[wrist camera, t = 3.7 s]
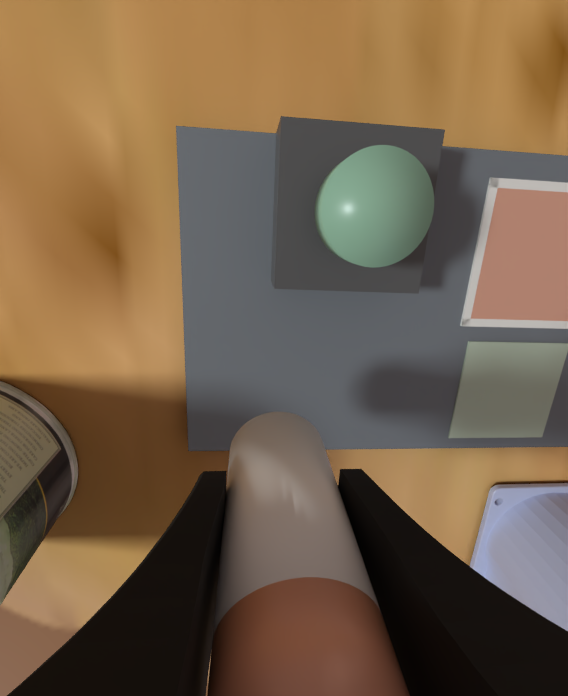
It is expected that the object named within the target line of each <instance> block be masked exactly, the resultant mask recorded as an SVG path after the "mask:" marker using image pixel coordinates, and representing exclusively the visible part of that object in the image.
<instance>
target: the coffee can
mask: <svg viewBox="0 0 568 696" xmlns="http://www.w3.org/2000/svg"><path fill="white" fill-rule="evenodd" d="M77 480H78V462H77V457H76V452H75V449H74V446H73V444H72V441H71V439H70V437H69V435H68V433H67V431H66V430H65V428H64V427H63V426H62V425H61V423H60V422H59V421H58V419H57V418H56V417H55V416H54V415H53V414H52V413H51V412H50V411H49V410H48V409H47V408H46V407H45V406H43V405H42V404H41V403H39V402H38V401H37V400H36V399H34V398H33V397H31V396H30V395H28V394H26V393H25V392H23V391H21V390H19V389H17V388H15V387H13V386H12V385H10V384H7V383H4V382H2V381H0V605H1V603H2V602H3V600H4V599H5V597H6V595H7V594H8V592H9V591H10V589H11V588H12V586H13V585H14V583H15V582H16V580H17V579H18V577H19V576H20V574H21V573H22V571H23V570H24V568H25V567H26V565H27V564H28V562H29V560H30V559H31V557H32V556H33V554H34V553H35V551H36V550H37V548H38V547H39V545H40V544H41V542H42V541H43V539H44V538H45V536H46V535H47V533H48V532H49V530H50V529H51V527H52V526H53V524H54V523H55V521H56V519H57V518H58V517H59V516H60V515H61V514H62V512H63V511H64V510H65V509H66V507H67V506H68V504H69V503H70V501H71V499H72V497H73V495H74V492H75V489H76V485H77Z"/></svg>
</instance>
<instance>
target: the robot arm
mask: <svg viewBox="0 0 568 696" xmlns="http://www.w3.org/2000/svg"><path fill="white" fill-rule="evenodd" d="M338 488H339V491H340V494H341V497H342V500H343V503H344V506H345V509H346V512H347V515H348V517H349V520H350V523H351V526H352V529H353V532H354V535H355V538H356V541H357V544H358V547H359V549H360V552H361V555H362V558H363V561H364V564H365V567H366V570H367V573H368V576H369V579H370V581H371V584H372V587H373V590H374V593H375V596H376V599H377V602H378V605H379V608H380V611H381V613H382V616H383V619H384V622H385V625H386V628H387V631H388V634H389V637H390V640H391V643H392V645H393V648H394V651H395V654H396V657H397V660H398V663H399V666H400V669H401V672H402V675H403V677H404V680H405V683H406V686H407V689H408V692H409V695H410V696H568V483H546V484H502V485H495V486H493V487H492V488H491V489H490V491H489V495H488V498H487V502H486V506H485V510H484V514H483V517H482V521H481V525H480V529H479V533H478V537H477V540H476V544H475V548H474V552H473V556H472V559H471V563H470V566H468V565H467V564H466V563H464V562H463V561H462V560H460V559H459V558H458V557H456V556H455V555H454V554H453V553H451V552H450V551H449V550H448V549H446V548H445V547H444V546H443V545H442V544H440V543H439V542H438V541H437V540H436V539H435V538H433V537H432V536H431V535H430V534H429V533H427V532H426V531H425V530H424V529H423V528H422V527H421V526H420V525H418V524H417V523H416V522H415V521H414V520H413V519H412V518H411V517H410V516H409V515H407V514H406V513H405V512H404V511H403V510H402V509H401V508H400V507H399V506H398V505H397V504H396V503H395V502H394V501H393V500H392V499H391V498H390V497H389V496H388V495H387V494H386V493H385V492H384V491H383V490H382V489H381V488H380V487H379V486H378V485H377V484H376V483H375V482H374V481H373V480H372V479H371V478H370V477H369V476H368V475H367V474H366V473H365V472H364V471H363V470H362V469H340V476H339V485H338ZM225 502H226V471H204V472H203V473H202V474H201V475H200V476H199V478H198V480H197V482H196V484H195V486H194V488H193V490H192V491H191V493H190V495H189V496H188V498H187V500H186V501H185V503H184V505H183V506H182V508H181V509H180V511H179V512H178V514H177V515H176V517H175V518H174V520H173V521H172V523H171V524H170V526H169V527H168V528H167V530H166V531H165V533H164V534H163V535H162V537H161V538H160V539H159V541H158V542H157V543H156V544H155V546H154V547H153V548H152V550H151V551H150V552H149V554H148V555H147V556H146V558H145V559H144V560H143V561H142V562H141V564H140V565H139V566H138V567H137V569H136V570H135V571H134V572H133V573H132V574H131V576H130V577H129V578H128V579H127V580H126V581H125V582H124V584H123V585H122V586H121V587H120V588H119V589H118V590H117V591H116V593H115V594H114V595H113V596H112V597H111V598H110V599H109V600H108V601H107V602H106V603H105V604H104V605H103V606H102V607H101V608H100V609H99V610H98V611H97V613H96V614H95V615H94V616H93V617H92V618H91V619H90V620H89V621H88V622H87V623H86V624H85V625H84V626H83V627H82V628H81V629H80V630H79V631H78V632H77V633H76V634H75V635H74V636H73V637H72V638H71V639H69V641H67V642H66V643H65V644H64V645H63V646H62V647H61V648H60V649H59V650H58V651H56V652H55V653H54V654H53V655H52V656H51V657H50V658H49V659H48V660H46V662H44V663H43V664H42V665H41V666H40V667H39V668H38V669H37V670H36V671H34V672H33V673H32V674H31V675H30V676H29V677H28V678H27V679H26V680H24V681H23V682H22V683H21V684H20V685H19V686H18V687H17V688H15V689H14V690H13V691H12V692H11V693H10V694H8V695H7V696H206V686H207V678H208V670H209V662H210V656H211V649H212V640H213V629H214V618H215V607H216V596H217V585H218V574H219V563H220V552H221V541H222V530H223V523H224V513H225Z"/></svg>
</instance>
